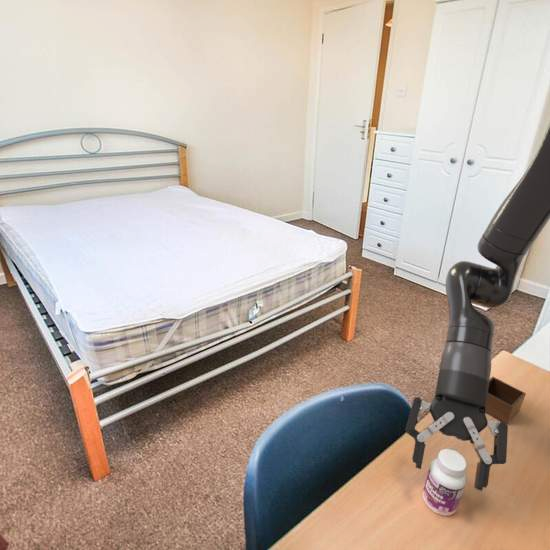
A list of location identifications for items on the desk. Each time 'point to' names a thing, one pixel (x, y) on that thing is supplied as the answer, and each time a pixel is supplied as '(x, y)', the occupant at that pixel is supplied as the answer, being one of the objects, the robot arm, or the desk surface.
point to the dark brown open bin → (503, 400)
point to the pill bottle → (445, 482)
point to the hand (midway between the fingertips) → (447, 478)
